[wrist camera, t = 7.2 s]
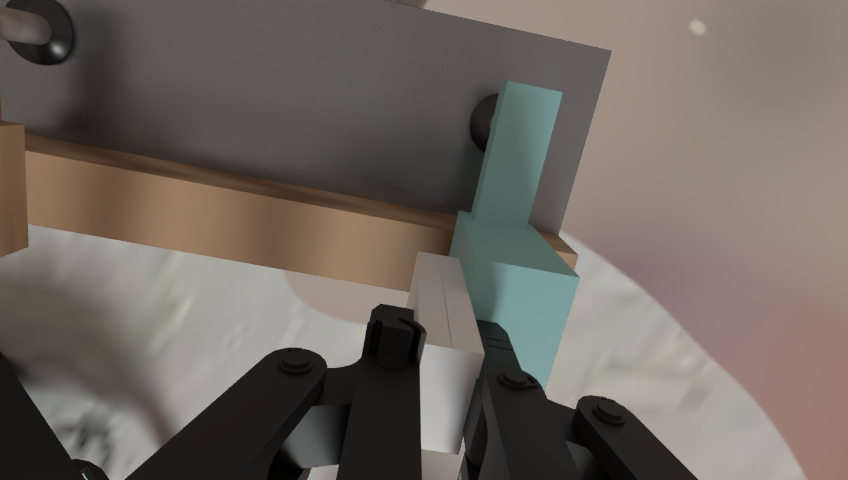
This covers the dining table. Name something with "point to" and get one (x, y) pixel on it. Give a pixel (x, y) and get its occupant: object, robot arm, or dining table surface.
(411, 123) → the bolt plate
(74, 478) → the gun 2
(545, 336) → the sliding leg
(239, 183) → the wooden clamp
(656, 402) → the dining table surface
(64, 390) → the dining table surface
